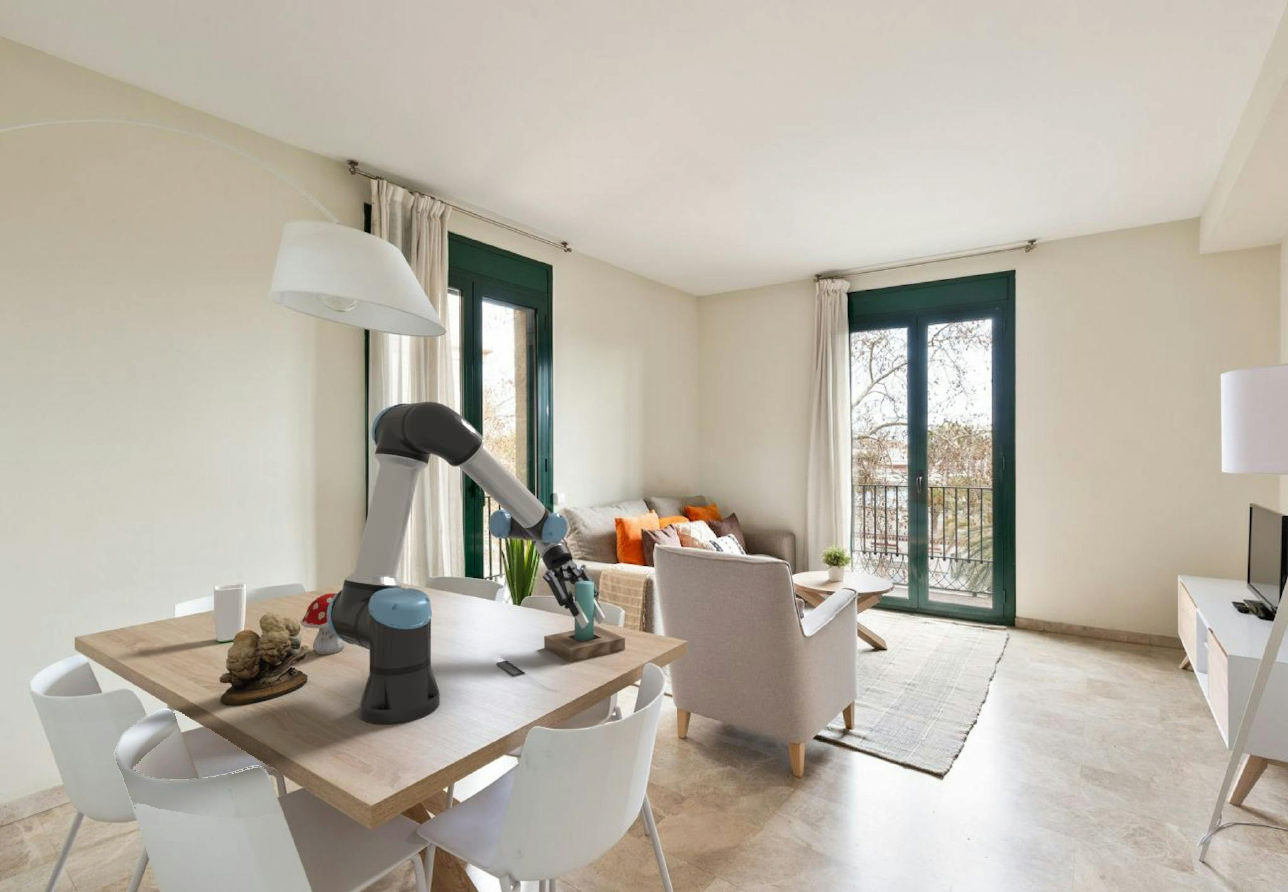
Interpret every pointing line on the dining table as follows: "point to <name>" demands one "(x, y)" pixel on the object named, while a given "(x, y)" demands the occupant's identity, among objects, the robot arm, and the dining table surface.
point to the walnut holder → (584, 644)
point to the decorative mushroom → (322, 626)
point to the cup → (229, 610)
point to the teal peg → (585, 610)
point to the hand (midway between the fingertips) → (593, 623)
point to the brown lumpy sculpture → (264, 662)
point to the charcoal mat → (510, 668)
